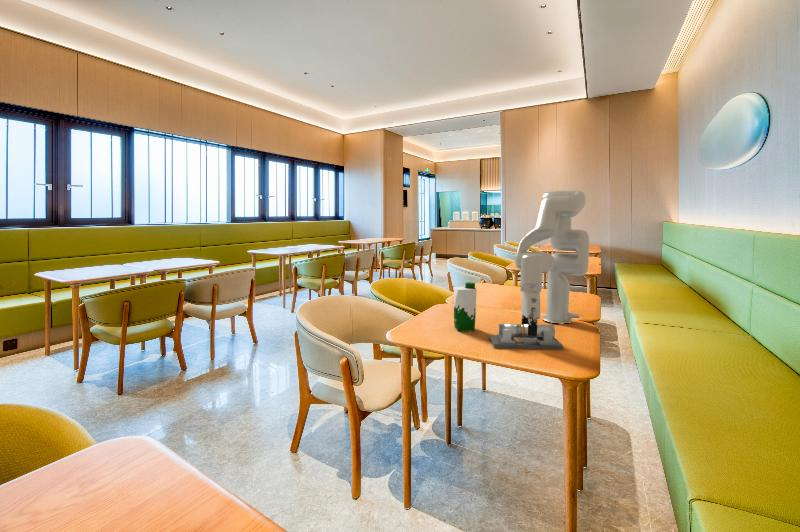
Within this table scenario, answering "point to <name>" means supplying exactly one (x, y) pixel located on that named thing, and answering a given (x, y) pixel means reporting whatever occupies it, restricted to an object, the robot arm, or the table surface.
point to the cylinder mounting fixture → (524, 340)
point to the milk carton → (465, 307)
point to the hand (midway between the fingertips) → (528, 331)
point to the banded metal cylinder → (522, 330)
